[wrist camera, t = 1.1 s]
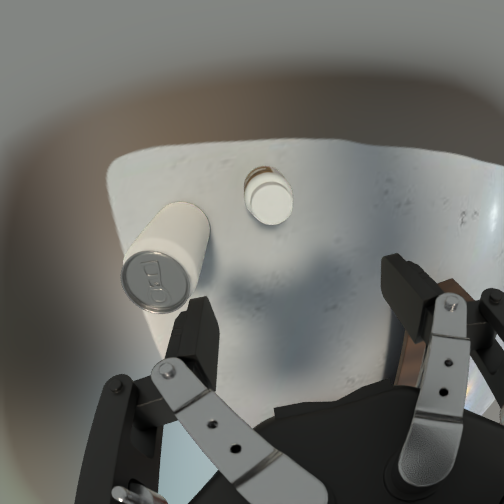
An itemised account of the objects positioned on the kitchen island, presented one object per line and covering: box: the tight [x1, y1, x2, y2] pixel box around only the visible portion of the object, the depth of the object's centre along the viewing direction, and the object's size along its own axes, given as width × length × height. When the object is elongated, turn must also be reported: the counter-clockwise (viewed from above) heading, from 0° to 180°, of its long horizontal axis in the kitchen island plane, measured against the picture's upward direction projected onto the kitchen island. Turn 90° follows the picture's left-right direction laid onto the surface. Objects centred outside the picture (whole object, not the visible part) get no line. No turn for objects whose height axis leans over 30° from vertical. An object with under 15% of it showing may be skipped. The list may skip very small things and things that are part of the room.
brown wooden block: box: [394, 278, 475, 387], centre depth 38 cm, size 28×12×9 cm, turn 13°
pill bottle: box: [244, 166, 293, 225], centre depth 26 cm, size 4×4×8 cm
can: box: [121, 202, 210, 314], centre depth 26 cm, size 6×6×12 cm
